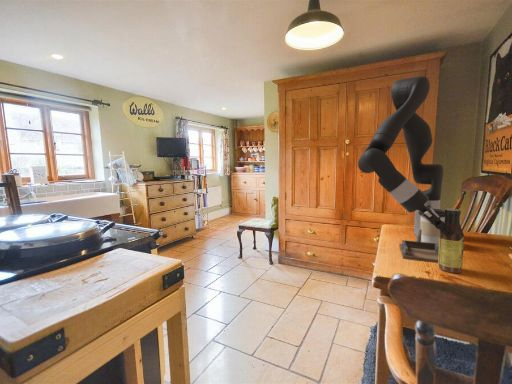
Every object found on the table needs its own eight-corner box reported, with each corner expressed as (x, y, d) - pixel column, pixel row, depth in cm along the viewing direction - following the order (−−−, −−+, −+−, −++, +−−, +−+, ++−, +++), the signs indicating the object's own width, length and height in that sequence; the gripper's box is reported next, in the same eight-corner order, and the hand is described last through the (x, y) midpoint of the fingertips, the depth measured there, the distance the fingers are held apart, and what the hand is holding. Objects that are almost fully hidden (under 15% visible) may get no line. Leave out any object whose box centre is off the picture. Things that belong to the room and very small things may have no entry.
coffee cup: (418, 239, 111) (420, 206, 109) (443, 242, 106) (446, 208, 104) (418, 244, 104) (420, 209, 102) (445, 248, 99) (447, 211, 97)
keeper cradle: (399, 246, 103) (400, 227, 102) (437, 250, 98) (438, 230, 97) (403, 258, 91) (404, 237, 90) (446, 263, 85) (448, 241, 84)
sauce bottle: (466, 274, 77) (471, 212, 74) (443, 273, 78) (448, 211, 76) (454, 265, 83) (458, 207, 81) (433, 264, 85) (437, 207, 82)
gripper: (421, 190, 75) (466, 230, 72) (414, 185, 88) (452, 219, 85) (400, 206, 78) (442, 245, 75) (396, 199, 91) (432, 232, 88)
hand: (447, 231), depth 80 cm, fingers open, 8 cm apart
